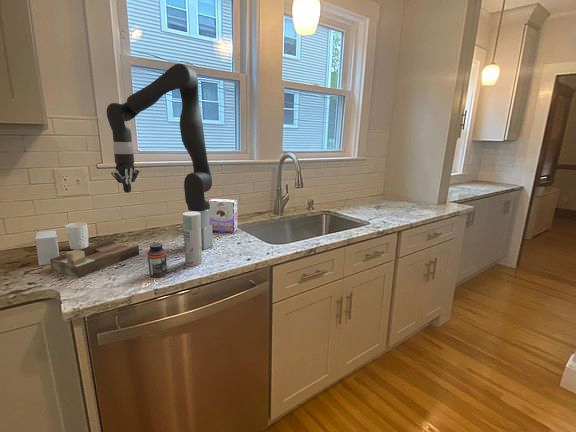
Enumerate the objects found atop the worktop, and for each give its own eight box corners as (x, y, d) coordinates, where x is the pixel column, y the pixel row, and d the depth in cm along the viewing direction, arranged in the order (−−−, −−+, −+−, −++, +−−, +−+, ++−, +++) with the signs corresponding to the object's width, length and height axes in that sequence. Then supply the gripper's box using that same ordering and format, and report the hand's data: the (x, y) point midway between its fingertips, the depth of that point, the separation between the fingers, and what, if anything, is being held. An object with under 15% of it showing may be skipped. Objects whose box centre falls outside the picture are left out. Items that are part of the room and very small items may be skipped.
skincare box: (60, 262, 120) (56, 236, 118) (38, 266, 117) (34, 239, 114) (60, 253, 128) (56, 229, 126) (40, 257, 125) (35, 231, 122)
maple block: (85, 261, 115) (84, 251, 114) (74, 265, 112) (73, 255, 111) (78, 259, 117) (77, 249, 116) (67, 263, 114) (65, 253, 113)
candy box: (237, 230, 167) (237, 199, 163) (234, 233, 162) (233, 201, 158) (213, 228, 170) (212, 197, 165) (208, 231, 164) (207, 200, 160)
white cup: (94, 245, 139) (91, 223, 136) (77, 251, 132) (74, 228, 129) (81, 242, 141) (78, 221, 139) (63, 248, 134) (60, 226, 132)
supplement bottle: (152, 270, 116) (150, 241, 113) (169, 270, 116) (167, 241, 113) (146, 278, 110) (144, 247, 107) (164, 277, 110) (162, 247, 108)
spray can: (205, 263, 124) (203, 213, 119) (190, 267, 119) (187, 216, 114) (197, 258, 128) (194, 210, 123) (182, 262, 124) (179, 213, 119)
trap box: (139, 254, 130) (138, 245, 129) (78, 278, 108) (76, 267, 107) (114, 248, 136) (113, 239, 135) (51, 269, 114) (50, 259, 113)
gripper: (116, 153, 129) (120, 195, 133) (142, 152, 140) (145, 190, 145) (103, 152, 131) (108, 193, 136) (130, 151, 143) (133, 189, 148)
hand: (127, 192), depth 140 cm, fingers closed
